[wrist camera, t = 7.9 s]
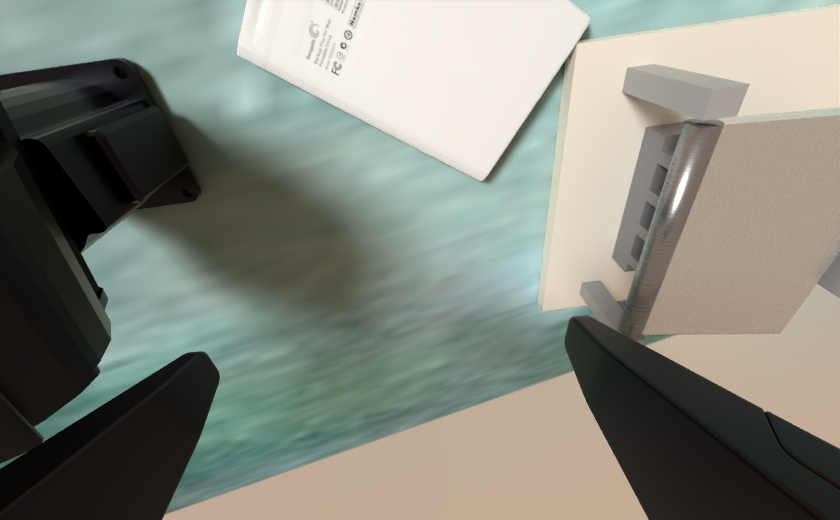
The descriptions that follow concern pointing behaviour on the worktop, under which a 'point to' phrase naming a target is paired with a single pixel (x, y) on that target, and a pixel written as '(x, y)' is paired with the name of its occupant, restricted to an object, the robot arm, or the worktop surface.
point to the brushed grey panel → (740, 226)
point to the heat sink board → (618, 121)
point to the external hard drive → (420, 64)
